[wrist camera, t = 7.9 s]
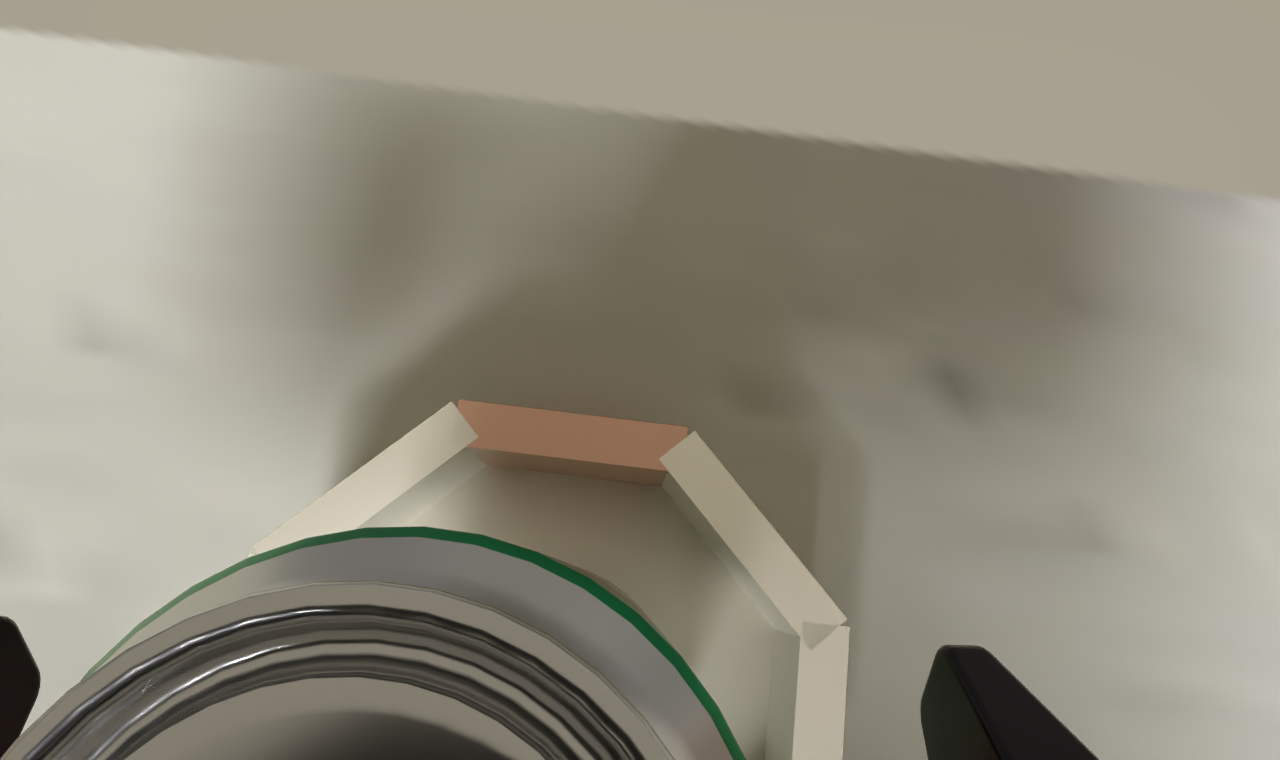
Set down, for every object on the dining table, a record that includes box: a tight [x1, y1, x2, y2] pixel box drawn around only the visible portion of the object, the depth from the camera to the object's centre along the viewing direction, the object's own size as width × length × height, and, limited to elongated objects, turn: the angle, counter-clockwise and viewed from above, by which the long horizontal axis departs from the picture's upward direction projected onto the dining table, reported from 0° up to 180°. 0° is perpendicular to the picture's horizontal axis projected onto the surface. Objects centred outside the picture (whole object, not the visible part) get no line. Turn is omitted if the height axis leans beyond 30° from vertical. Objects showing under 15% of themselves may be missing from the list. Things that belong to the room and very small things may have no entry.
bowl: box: [247, 399, 850, 760], centre depth 15 cm, size 10×10×3 cm
